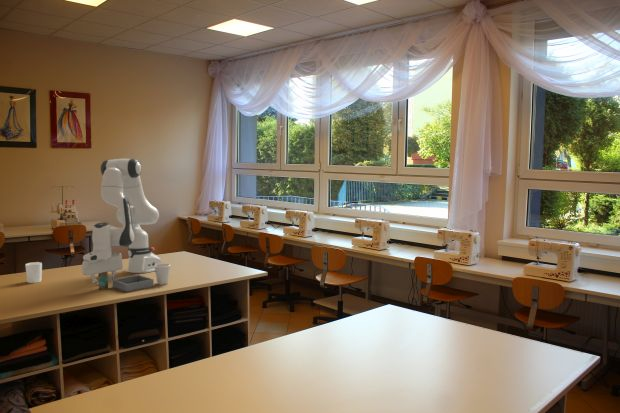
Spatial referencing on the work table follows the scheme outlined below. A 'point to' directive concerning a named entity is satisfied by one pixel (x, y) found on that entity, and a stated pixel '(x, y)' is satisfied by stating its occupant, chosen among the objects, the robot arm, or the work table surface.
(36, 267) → the white cup
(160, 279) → the dixie cup
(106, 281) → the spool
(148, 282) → the bin
